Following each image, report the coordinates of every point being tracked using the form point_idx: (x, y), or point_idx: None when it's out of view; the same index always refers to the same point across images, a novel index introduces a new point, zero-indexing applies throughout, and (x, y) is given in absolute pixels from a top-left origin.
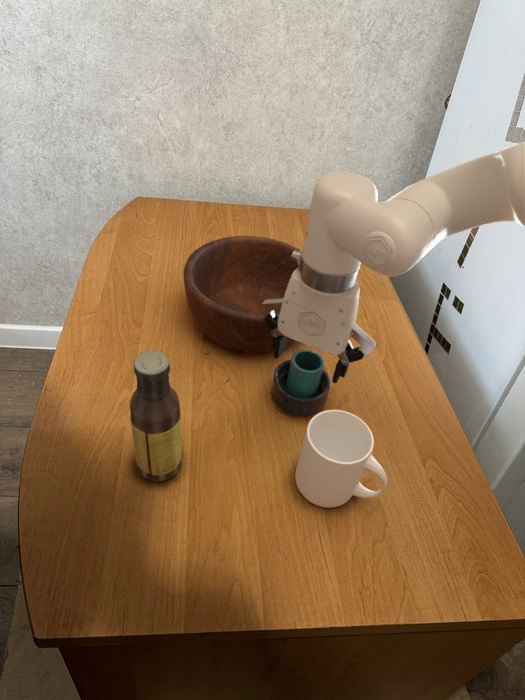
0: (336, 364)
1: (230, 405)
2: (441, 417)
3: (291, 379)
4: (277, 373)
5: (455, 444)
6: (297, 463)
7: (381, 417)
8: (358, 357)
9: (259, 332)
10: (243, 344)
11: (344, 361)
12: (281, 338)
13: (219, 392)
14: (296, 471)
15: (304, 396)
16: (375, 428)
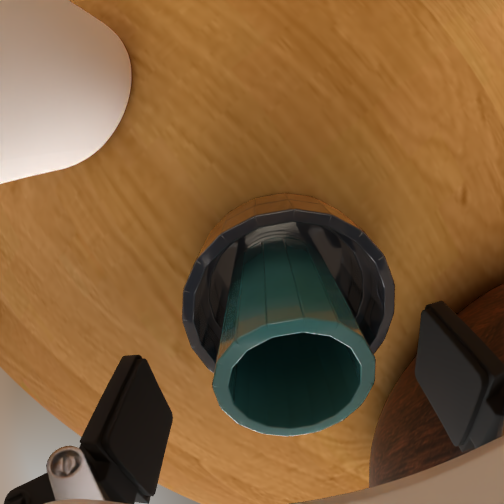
0: (109, 437)
1: (416, 122)
2: (48, 401)
3: (316, 277)
4: (379, 285)
5: (4, 361)
6: (114, 42)
7: (96, 351)
8: (17, 496)
9: (500, 358)
10: (497, 305)
11: (70, 465)
12: (481, 395)
13: (458, 146)
14: (106, 26)
15: (245, 266)
16: (83, 317)
